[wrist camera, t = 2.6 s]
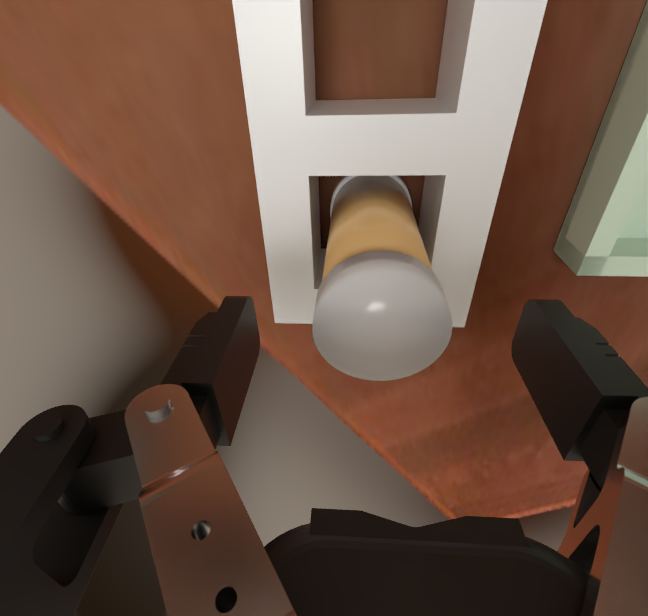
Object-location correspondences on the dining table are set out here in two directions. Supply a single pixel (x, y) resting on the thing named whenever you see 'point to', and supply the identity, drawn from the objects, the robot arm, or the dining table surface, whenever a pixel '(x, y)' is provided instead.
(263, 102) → the frame
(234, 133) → the dining table surface
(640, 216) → the parts tray
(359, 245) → the fuse
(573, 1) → the dining table surface
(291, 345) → the dining table surface
